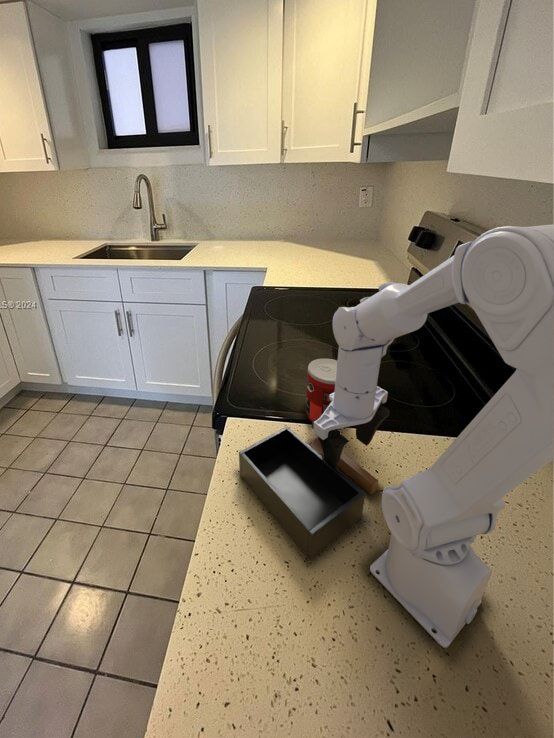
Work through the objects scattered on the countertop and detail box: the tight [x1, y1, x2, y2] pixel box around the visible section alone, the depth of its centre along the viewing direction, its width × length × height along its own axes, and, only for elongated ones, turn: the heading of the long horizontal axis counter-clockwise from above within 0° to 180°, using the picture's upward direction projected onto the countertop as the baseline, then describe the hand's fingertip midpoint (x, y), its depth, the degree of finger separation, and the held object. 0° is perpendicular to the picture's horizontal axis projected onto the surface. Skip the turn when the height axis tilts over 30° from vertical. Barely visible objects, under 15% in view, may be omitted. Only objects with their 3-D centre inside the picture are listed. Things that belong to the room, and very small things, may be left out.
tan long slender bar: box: [310, 437, 379, 495], centre depth 59 cm, size 12×4×2 cm, turn 33°
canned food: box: [305, 358, 338, 423], centre depth 68 cm, size 8×8×11 cm
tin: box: [238, 425, 366, 561], centre depth 53 cm, size 16×10×5 cm, turn 33°
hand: (347, 451), depth 57 cm, fingers open, 7 cm apart
